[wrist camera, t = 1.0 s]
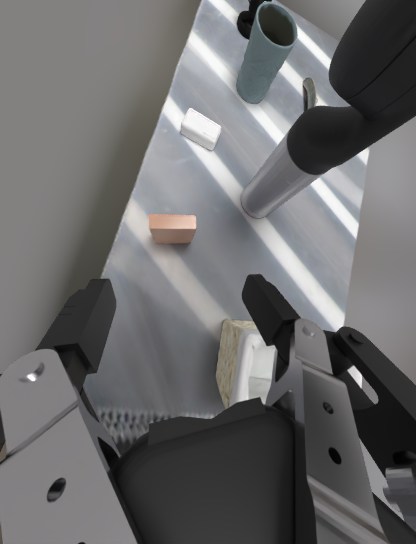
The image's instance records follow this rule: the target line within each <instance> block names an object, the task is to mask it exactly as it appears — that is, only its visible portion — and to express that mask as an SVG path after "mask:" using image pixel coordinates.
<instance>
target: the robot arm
mask: <svg viewBox="0 0 416 544" xmlns="http://www.w3.org/2000/svg"><path fill="white" fill-rule="evenodd" d="M329 81H330V84H331V86H332V87H333V89H334V90H335V91H336V92H337V94H338V95H339V96H340V97H341V98H342V99H344V100H345V101H346V102H347V103H349V104H350V105H351V106H348V107H330V106H315V107H312V108H310V109H308V110H306V111H305V112H304V113H303V114H302V115H301V116H300V117H299V118H298V119H297V121H296V122H295V123H294V125H293V126H292V127H291V129H290V130H289V131H288V133H287V134H286V135H285V136H284V138H283V139H282V140H281V142H280V143H279V144H278V146H277V147H276V149H275V150H274V151H273V153H272V154H271V155H270V156H269V158H268V159H267V160H266V162H265V163H264V164H263V166H262V167H261V168H260V170H259V171H258V172H257V174H256V175H255V176H254V178H253V179H252V180H251V182H250V183H249V184H248V186H247V187H246V188H245V190H244V191H243V193H242V196H241V202H242V206H243V208H244V210H245V211H246V212H247V213H248V214H249V215H250V216H252V217H255V218H263V217H265V216H267V215H268V214H270V213H271V212H272V211H274V210H275V209H277V208H278V207H279V206H281V205H282V204H284V203H285V202H286V201H288V200H289V199H290V198H292V197H293V196H294V195H296V194H297V193H298V192H300V191H301V190H303V189H304V188H305V187H307V186H308V185H309V184H311V183H312V182H313V181H315V180H316V179H317V178H319V177H320V176H321V175H323V174H324V173H326V172H327V171H328V170H330V169H331V168H333V167H336V166H339V165H341V164H343V163H344V162H346V161H348V160H349V159H351V158H352V157H354V156H355V155H357V154H358V153H360V152H361V151H363V150H364V149H366V148H367V147H369V146H370V145H372V144H373V143H375V142H376V141H378V140H380V139H381V138H382V137H384V136H386V135H387V134H389V133H390V132H392V131H393V130H395V129H396V128H398V127H400V126H401V125H403V124H404V123H406V122H407V121H409V120H410V119H412V118H413V117H415V116H416V0H366V1H365V3H364V4H363V5H362V7H361V8H360V10H359V11H358V13H357V14H356V16H355V17H354V19H353V20H352V22H351V23H350V25H349V27H348V28H347V30H346V32H345V33H344V35H343V37H342V39H341V41H340V43H339V44H338V46H337V49H336V51H335V53H334V56H333V58H332V61H331V64H330V69H329ZM242 300H243V302H244V304H245V306H246V308H247V310H248V312H249V314H250V315H251V317H252V319H253V321H254V323H255V325H256V327H257V329H258V331H259V333H260V335H261V336H262V338H263V340H264V342H265V344H266V346H273V345H275V347H276V350H275V353H274V362H273V371H272V380H271V386H270V389H269V392H268V394H267V398H266V402H265V404H263V403H262V400H261V398H260V397H257V398H253V399H249V400H245V401H241V402H237V403H235V404H233V405H232V406H230V407H229V408H227V409H226V410H224V411H223V412H221V413H220V414H218V415H217V416H216V417H214V418H212V419H203V418H192V417H182V416H180V417H176V418H172V419H168V420H163V421H159V422H155V423H151V424H149V432H147V433H145V434H144V435H142V436H141V437H140V438H139V439H137V440H136V441H135V442H134V443H133V444H132V445H131V446H130V447H128V448H127V449H126V451H125V452H124V453H123V454H122V455H121V456H120V454H119V452H118V450H117V448H116V446H115V444H114V442H113V440H112V438H111V437H110V435H109V433H108V432H107V430H106V429H105V427H104V425H103V423H102V422H101V420H100V418H99V416H98V414H97V412H96V410H95V408H94V405H93V403H92V401H91V399H90V397H89V395H88V393H87V391H86V389H85V387H84V386H83V384H84V381H85V378H86V375H87V374H92V373H97V370H98V367H99V363H100V360H101V357H102V354H103V350H104V347H105V344H106V340H107V337H108V334H109V330H110V327H111V324H112V321H113V317H114V314H115V311H116V298H115V295H114V291H113V288H112V284H111V281H110V279H92V280H90V282H89V283H88V285H87V287H86V289H85V290H78V291H77V292H76V293H75V294H73V295H72V296H71V297H69V299H68V300H67V302H66V304H65V305H64V308H63V309H62V310H61V312H60V313H59V316H57V318H56V319H55V321H54V322H53V324H52V325H51V327H50V329H49V330H48V331H47V333H46V335H45V336H44V338H43V339H42V341H41V343H40V344H39V345H38V347H37V348H36V350H35V351H34V352H31V353H29V354H26V355H25V356H23V357H21V358H19V359H18V360H17V361H15V362H14V363H13V364H11V365H10V366H9V367H8V368H7V369H6V370H5V371H4V372H3V373H2V374H0V451H1V449H2V447H3V445H4V443H5V441H6V445H7V455H6V458H5V459H4V460H3V461H1V462H0V522H1V530H2V538H3V544H416V385H415V384H414V383H413V382H412V381H411V380H410V379H409V378H408V377H407V376H406V375H405V374H404V373H402V372H401V371H400V370H399V369H398V368H397V367H396V366H395V365H394V364H393V363H392V362H391V361H390V360H389V359H388V358H387V357H386V356H385V355H384V354H383V353H382V352H381V351H380V350H379V349H378V348H377V347H376V346H375V345H374V344H373V343H372V342H371V341H370V340H369V339H367V337H365V336H364V335H363V334H362V333H360V332H359V331H357V330H355V329H353V328H350V327H341V328H340V329H339V330H338V331H337V332H331V331H325V330H322V329H321V328H320V327H319V326H318V325H317V324H315V323H314V322H312V321H310V320H307V319H301V317H300V316H299V315H298V314H297V313H296V311H295V310H294V309H293V308H292V306H291V305H290V304H289V303H288V302H287V300H286V299H284V297H283V295H282V294H280V292H279V291H278V289H277V288H276V287H275V286H274V285H272V284H271V283H270V282H267V281H266V280H265V278H264V277H263V276H262V275H261V274H250V275H248V276H247V279H246V282H245V285H244V288H243V291H242ZM353 366H355V368H356V369H357V370H358V371H359V372H360V374H361V375H362V376H363V377H364V378H365V380H366V381H367V382H368V383H369V384H370V386H371V387H372V388H373V389H374V390H375V392H376V393H377V395H378V399H379V401H378V403H377V404H374V403H373V402H372V401H371V400H370V399H369V398H368V396H367V395H366V394H365V392H364V391H363V390H362V389H361V387H360V386H359V385H358V383H357V382H356V381H355V380H354V378H353V377H352V376H351V375H350V373H349V372H348V371H347V370H348V369H350V368H351V367H353ZM358 436H359V437H358ZM359 438H360V439H361V441H362V443H363V444H364V446H365V447H366V449H367V450H368V452H369V453H370V455H371V456H372V458H373V460H374V461H375V463H376V464H377V466H378V468H379V469H380V471H381V472H382V474H383V475H384V477H385V478H386V480H387V484H384V485H383V492H384V495H385V497H386V499H387V501H388V502H389V504H390V505H391V506H392V507H393V508H394V509H395V510H396V511H398V512H401V513H402V515H403V518H404V521H405V522H404V521H403V520H402V519H401V518H400V517H399V516H398V515H397V514H395V513H394V512H393V511H392V510H391V509H390V508H389V507H388V506H387V505H386V504H385V503H384V502H382V501H381V500H380V499H379V498H378V497H377V496H376V495H375V494H374V493H373V492H372V491H371V486H370V482H369V479H368V474H367V470H366V466H365V461H364V457H363V453H362V450H361V445H360V441H359Z"/></svg>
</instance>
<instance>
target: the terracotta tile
mask: <svg viewBox="0 0 416 544" xmlns="http://www.w3.org/2000/svg"><path fill="white" fill-rule="evenodd" d="M149 229H150V231H151V234H152V236H153V239H154V241H155V243H191V241H192V238H193V236H194V234H195V231H196V215H167V214H149Z"/></svg>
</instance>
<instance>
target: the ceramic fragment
mask: <svg viewBox="0 0 416 544" xmlns="http://www.w3.org/2000/svg"><path fill="white" fill-rule="evenodd" d="M303 86H304V87H305V89H306V91H307V96H308V109H310V108H312V107H315V106H316V103H317V102H318V100H317V98H316V86H315V82H314V80H313V79H311V78H306V79H305V80H304V81H303ZM308 109H307V110H308Z"/></svg>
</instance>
